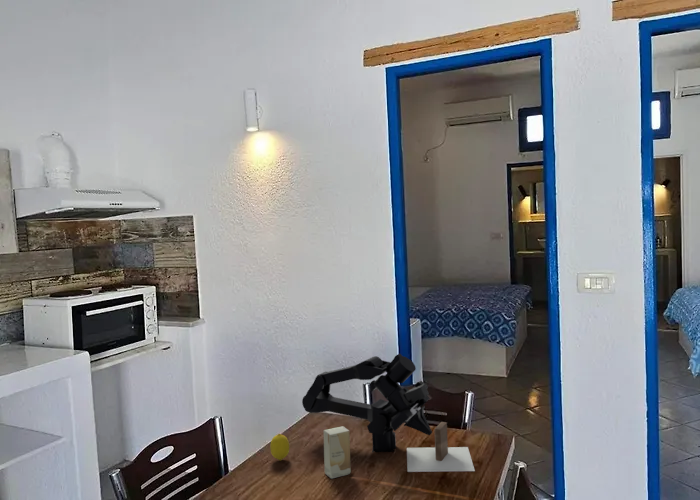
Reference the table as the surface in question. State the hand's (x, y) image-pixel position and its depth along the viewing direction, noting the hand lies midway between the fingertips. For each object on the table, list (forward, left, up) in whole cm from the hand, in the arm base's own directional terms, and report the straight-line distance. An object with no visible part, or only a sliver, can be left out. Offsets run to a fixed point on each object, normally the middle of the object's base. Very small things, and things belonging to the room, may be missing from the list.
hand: (430, 433), depth 164 cm
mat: (+2, -3, -7) cm, 7 cm away
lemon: (-44, -1, -7) cm, 45 cm away
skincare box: (-26, -10, -7) cm, 29 cm away
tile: (+3, -1, -6) cm, 7 cm away
